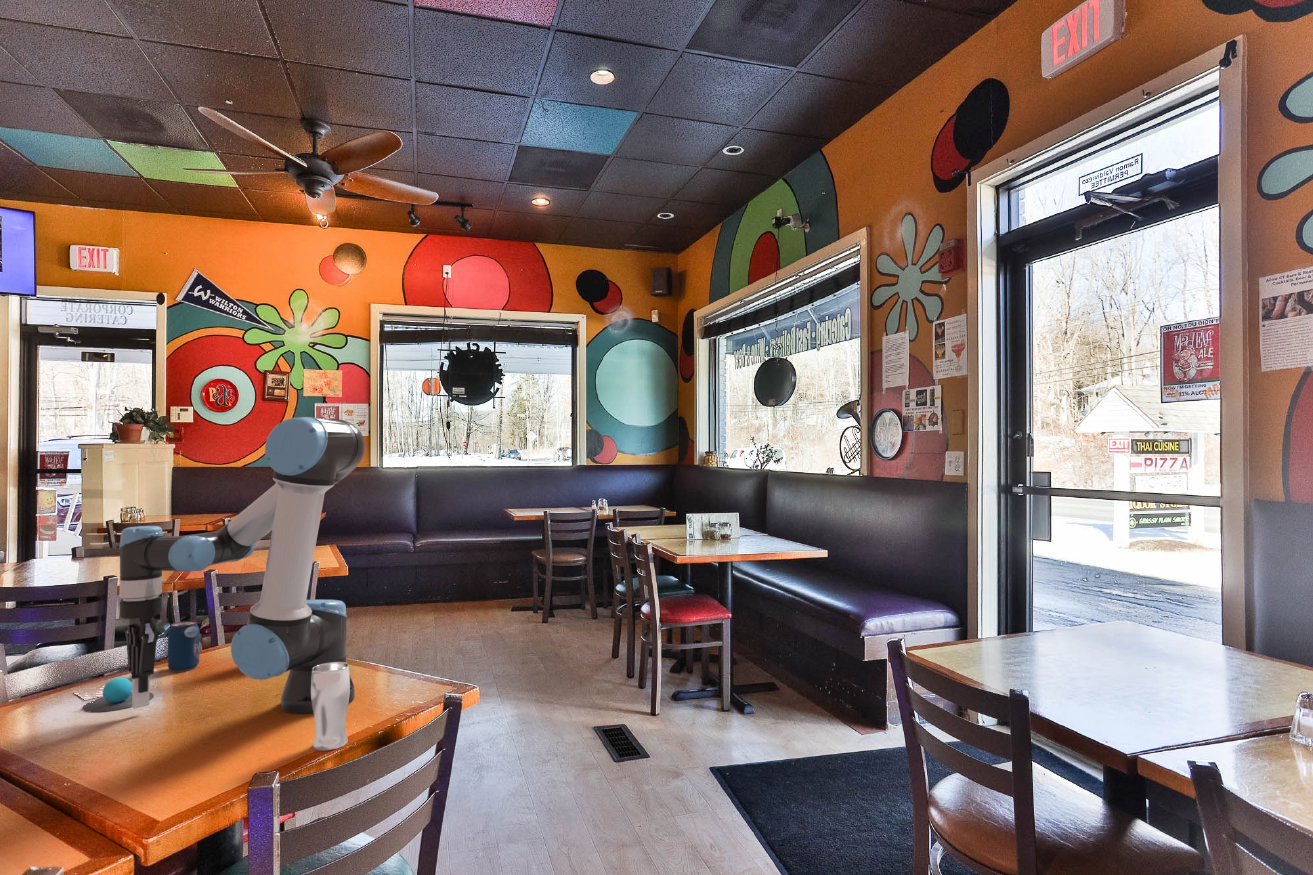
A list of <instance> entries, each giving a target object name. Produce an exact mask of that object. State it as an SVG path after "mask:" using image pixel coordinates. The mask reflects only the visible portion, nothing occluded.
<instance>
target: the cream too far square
mask: <svg viewBox="0 0 1313 875" xmlns="http://www.w3.org/2000/svg"><path fill="white" fill-rule="evenodd" d="M102 686H103V687H104V686H105V685H102ZM100 689H103V688H100ZM99 692H101V693H96V694H103V693H102V692H103V691H99ZM75 694H76V695H77V694H79V693H74V694H73V695H75ZM86 694H87V693H86ZM76 695H75V696H76ZM78 696H81V695H78ZM78 696H77V697H78ZM85 696H88V695H85ZM96 696H99V697H100V696H103V695H96ZM81 698H83V697H81ZM81 698H80V699H81ZM84 698H91V697H84ZM94 698H95V699H98V698H97V697H94ZM100 698H101V697H100ZM84 700H87V701H89V700H88V699H84ZM84 700H83V701H84Z"/></svg>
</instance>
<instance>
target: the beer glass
mask: <svg viewBox="0 0 1313 875" xmlns="http://www.w3.org/2000/svg"><path fill="white" fill-rule="evenodd" d="M349 666H350V664H349V663H348V662H346V663H345V662H330V663H324V664H320V665H317V666H315V667H313V668H312V677H311V702H312V708H313V713H312V714H313V717H314V723H315V734H314V739H313V746H312V748H313V749H314V750H316V751H321V752H323V751H326V752H327V751H328V752H329V751H331V750H332V751H333V750H336V749H340V748H343V747H344V746H346V745H347V744H348V741H349V739H348V734H347V729H346V727H347V726H346V721H347V712H348V708H349V696H350V676H351V674H350V667H349Z"/></svg>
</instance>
